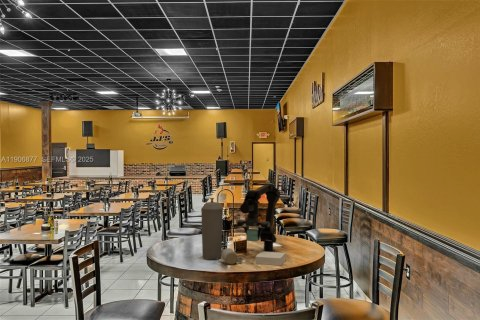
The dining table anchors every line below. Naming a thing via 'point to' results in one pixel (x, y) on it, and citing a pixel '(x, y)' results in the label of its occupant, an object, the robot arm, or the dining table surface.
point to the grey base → (270, 258)
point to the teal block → (252, 235)
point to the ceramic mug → (230, 256)
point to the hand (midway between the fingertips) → (253, 238)
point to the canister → (211, 230)
